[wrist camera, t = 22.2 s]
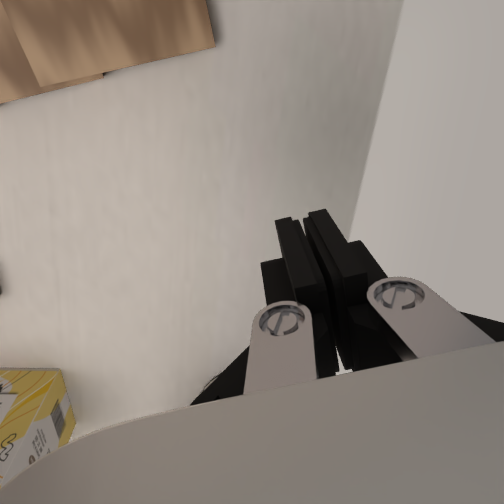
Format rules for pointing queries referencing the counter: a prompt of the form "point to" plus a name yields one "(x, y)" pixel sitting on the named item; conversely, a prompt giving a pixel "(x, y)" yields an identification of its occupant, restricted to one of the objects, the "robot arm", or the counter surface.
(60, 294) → the counter surface
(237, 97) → the counter surface
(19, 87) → the domino
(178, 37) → the domino
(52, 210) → the counter surface
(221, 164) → the counter surface
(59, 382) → the pasta box
